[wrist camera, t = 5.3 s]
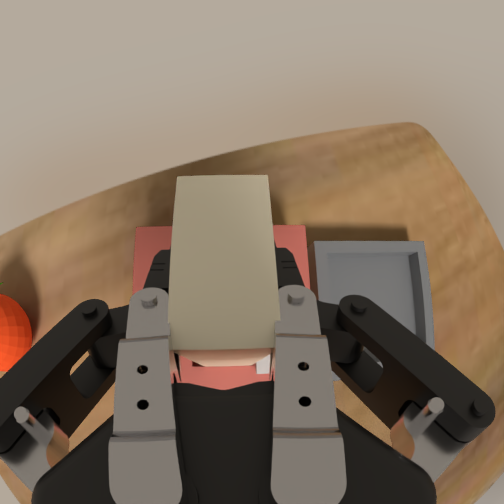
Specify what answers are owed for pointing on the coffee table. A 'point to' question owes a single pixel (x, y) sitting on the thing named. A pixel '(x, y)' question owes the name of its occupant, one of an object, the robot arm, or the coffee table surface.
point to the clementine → (13, 332)
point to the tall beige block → (223, 270)
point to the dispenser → (192, 372)
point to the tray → (376, 280)
